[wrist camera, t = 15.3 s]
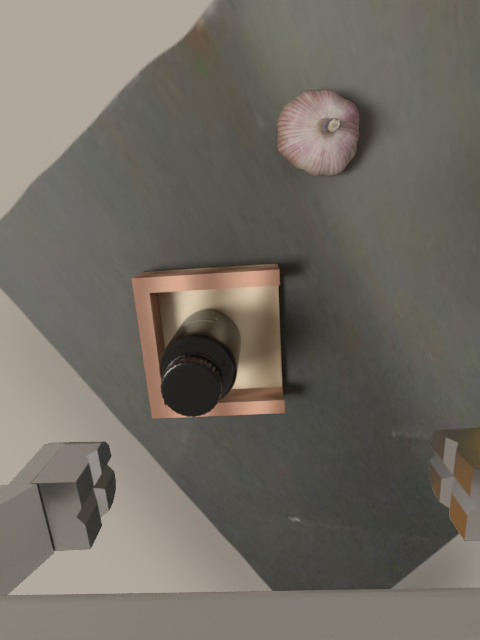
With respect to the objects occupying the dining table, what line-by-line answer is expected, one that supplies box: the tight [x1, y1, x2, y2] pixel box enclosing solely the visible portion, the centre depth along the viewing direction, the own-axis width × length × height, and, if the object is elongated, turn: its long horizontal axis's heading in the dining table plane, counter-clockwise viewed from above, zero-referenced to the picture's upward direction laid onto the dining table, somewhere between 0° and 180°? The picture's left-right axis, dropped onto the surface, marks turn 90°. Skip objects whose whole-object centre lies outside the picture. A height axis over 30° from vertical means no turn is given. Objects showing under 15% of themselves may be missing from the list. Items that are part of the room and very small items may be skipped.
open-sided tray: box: [132, 264, 285, 418], centre depth 40 cm, size 14×15×4 cm
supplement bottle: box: [159, 310, 241, 417], centre depth 35 cm, size 7×7×12 cm
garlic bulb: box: [277, 89, 360, 176], centre depth 32 cm, size 8×7×8 cm
